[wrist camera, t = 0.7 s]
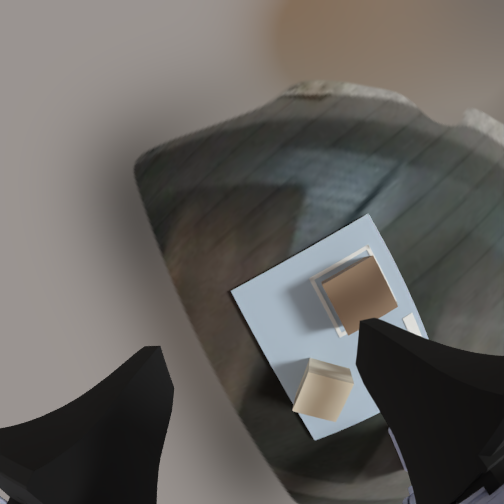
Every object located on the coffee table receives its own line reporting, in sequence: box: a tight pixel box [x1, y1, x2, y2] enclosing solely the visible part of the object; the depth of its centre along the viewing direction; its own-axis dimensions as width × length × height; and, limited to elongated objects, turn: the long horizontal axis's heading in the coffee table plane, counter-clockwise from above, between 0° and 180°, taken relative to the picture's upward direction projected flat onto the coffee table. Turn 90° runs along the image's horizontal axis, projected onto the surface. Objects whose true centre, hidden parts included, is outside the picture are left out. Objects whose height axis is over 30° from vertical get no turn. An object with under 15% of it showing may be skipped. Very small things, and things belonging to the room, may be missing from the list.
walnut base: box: [321, 255, 398, 336], centre depth 24 cm, size 5×5×4 cm
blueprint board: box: [231, 214, 428, 440], centre depth 26 cm, size 20×16×1 cm
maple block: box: [292, 358, 354, 422], centre depth 24 cm, size 4×4×4 cm
